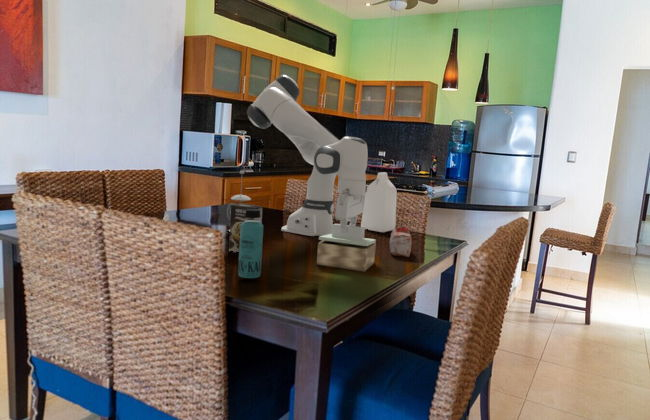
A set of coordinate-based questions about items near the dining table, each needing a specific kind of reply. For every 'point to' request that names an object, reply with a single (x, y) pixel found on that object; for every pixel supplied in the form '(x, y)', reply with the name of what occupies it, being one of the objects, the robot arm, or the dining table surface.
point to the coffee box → (239, 223)
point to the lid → (347, 240)
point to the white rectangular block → (349, 232)
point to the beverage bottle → (250, 246)
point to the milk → (380, 205)
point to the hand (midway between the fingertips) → (348, 230)
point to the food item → (400, 242)
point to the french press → (238, 197)
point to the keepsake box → (345, 255)
